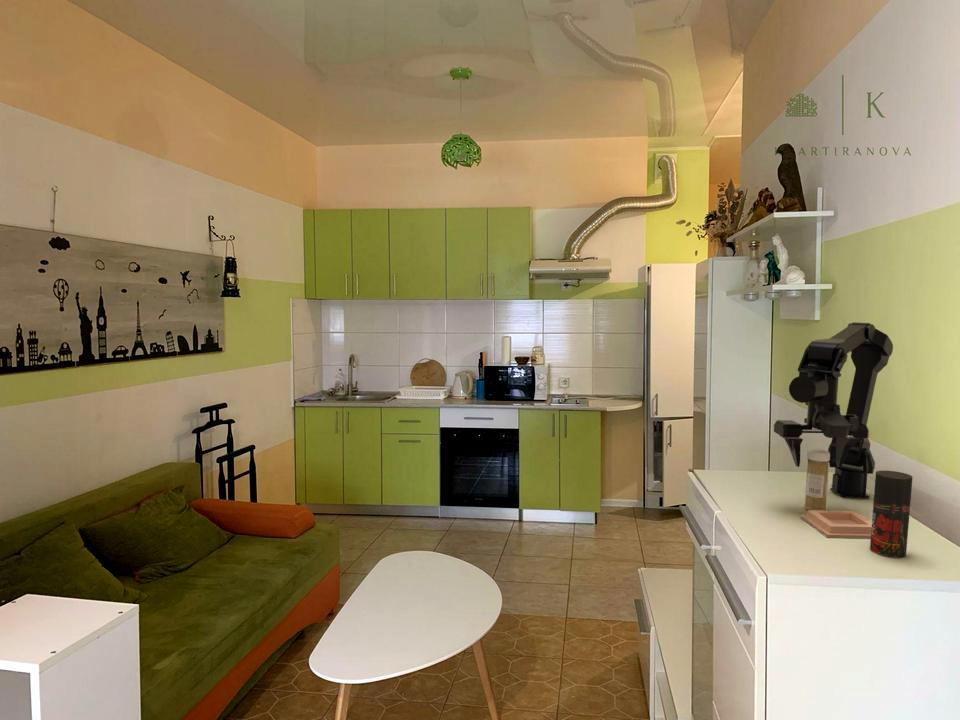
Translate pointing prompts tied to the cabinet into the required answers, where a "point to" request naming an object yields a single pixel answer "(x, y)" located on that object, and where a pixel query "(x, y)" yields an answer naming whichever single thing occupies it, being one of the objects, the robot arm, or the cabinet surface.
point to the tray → (839, 523)
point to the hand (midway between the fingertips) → (818, 466)
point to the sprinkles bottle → (817, 479)
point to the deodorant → (891, 514)
